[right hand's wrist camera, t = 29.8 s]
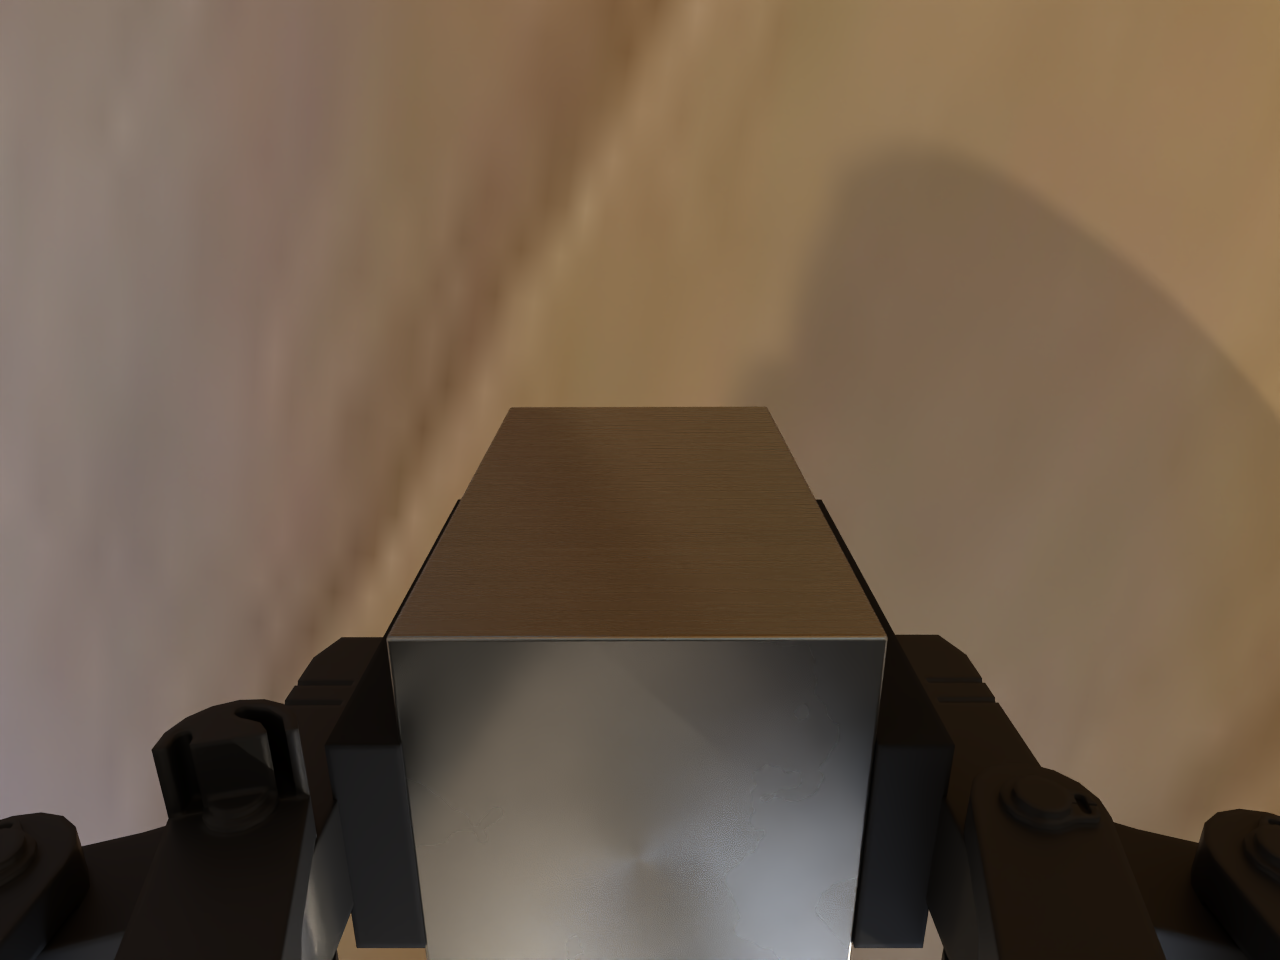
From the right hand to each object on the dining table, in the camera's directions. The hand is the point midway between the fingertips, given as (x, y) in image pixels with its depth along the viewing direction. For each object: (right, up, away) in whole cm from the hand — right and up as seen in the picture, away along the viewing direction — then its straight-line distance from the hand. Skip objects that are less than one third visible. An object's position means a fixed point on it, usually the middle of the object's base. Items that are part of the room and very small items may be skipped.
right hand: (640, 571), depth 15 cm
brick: (0, 0, +2) cm, 2 cm away
